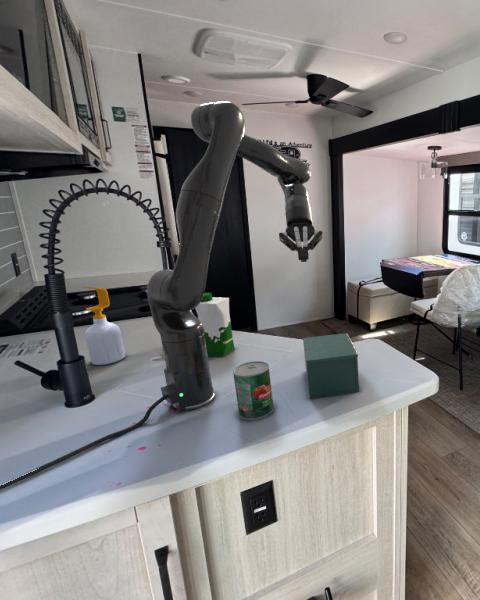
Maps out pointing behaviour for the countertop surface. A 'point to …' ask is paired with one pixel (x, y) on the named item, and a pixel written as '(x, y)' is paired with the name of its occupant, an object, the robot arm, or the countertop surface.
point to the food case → (332, 377)
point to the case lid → (328, 348)
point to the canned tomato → (253, 390)
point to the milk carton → (216, 324)
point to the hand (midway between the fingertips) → (304, 260)
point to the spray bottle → (103, 334)
